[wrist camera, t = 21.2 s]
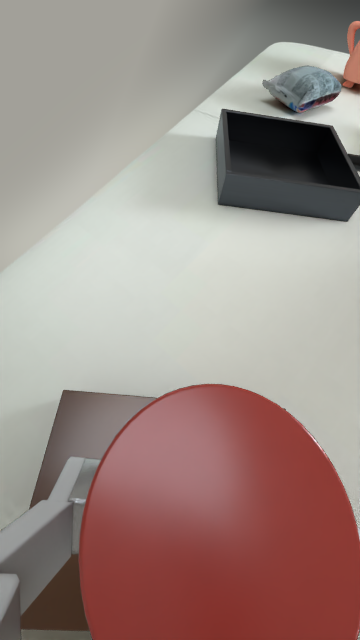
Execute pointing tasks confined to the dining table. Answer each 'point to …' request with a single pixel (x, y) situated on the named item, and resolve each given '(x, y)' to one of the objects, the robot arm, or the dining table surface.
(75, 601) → the walnut board
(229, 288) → the dining table surface
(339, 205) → the steel pan
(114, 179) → the dining table surface
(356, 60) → the teapot
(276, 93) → the packaged food
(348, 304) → the dining table surface
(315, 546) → the red cylinder
